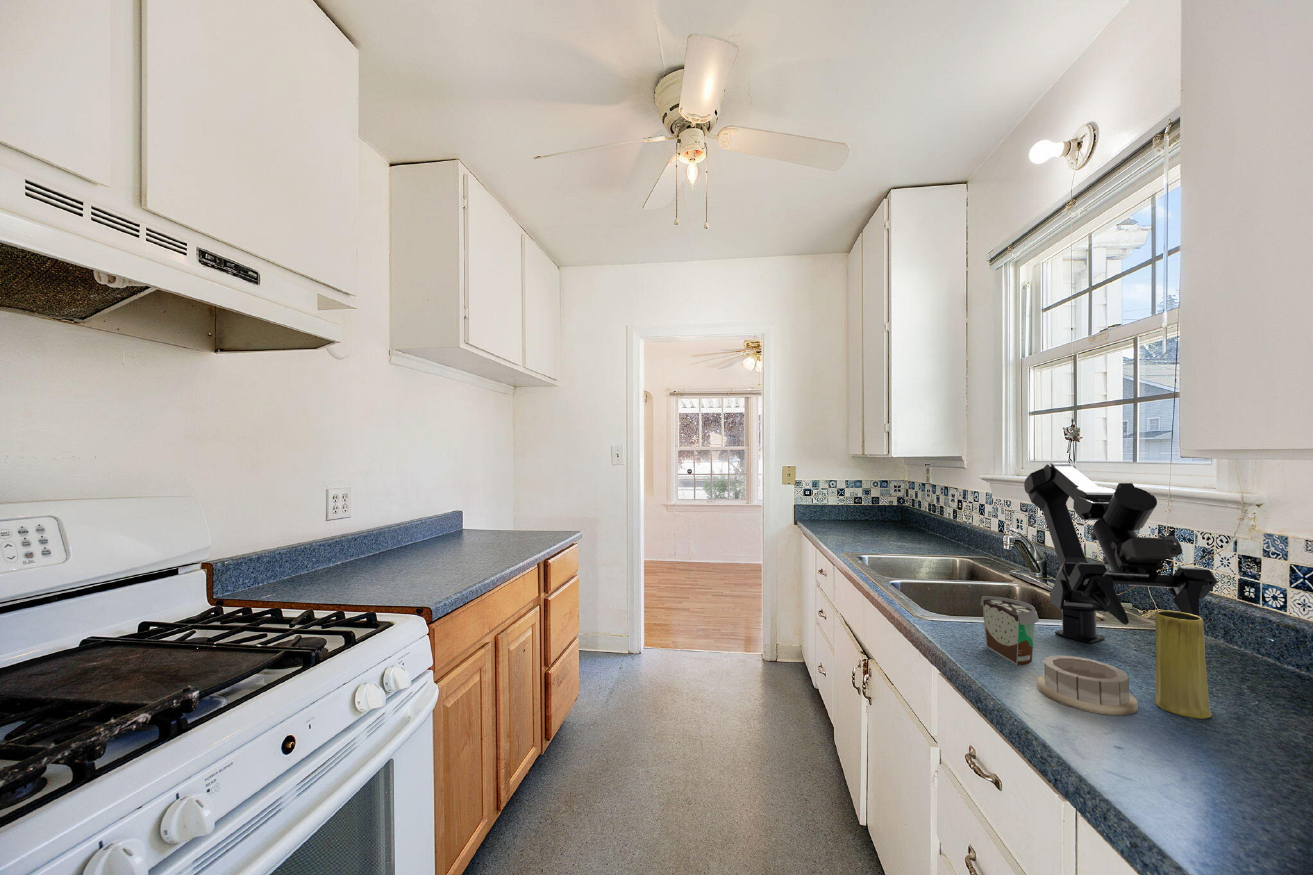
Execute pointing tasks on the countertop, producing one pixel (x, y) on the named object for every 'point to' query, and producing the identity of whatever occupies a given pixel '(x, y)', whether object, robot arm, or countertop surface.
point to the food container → (1009, 628)
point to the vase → (1181, 665)
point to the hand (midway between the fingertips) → (1161, 626)
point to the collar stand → (1087, 685)
